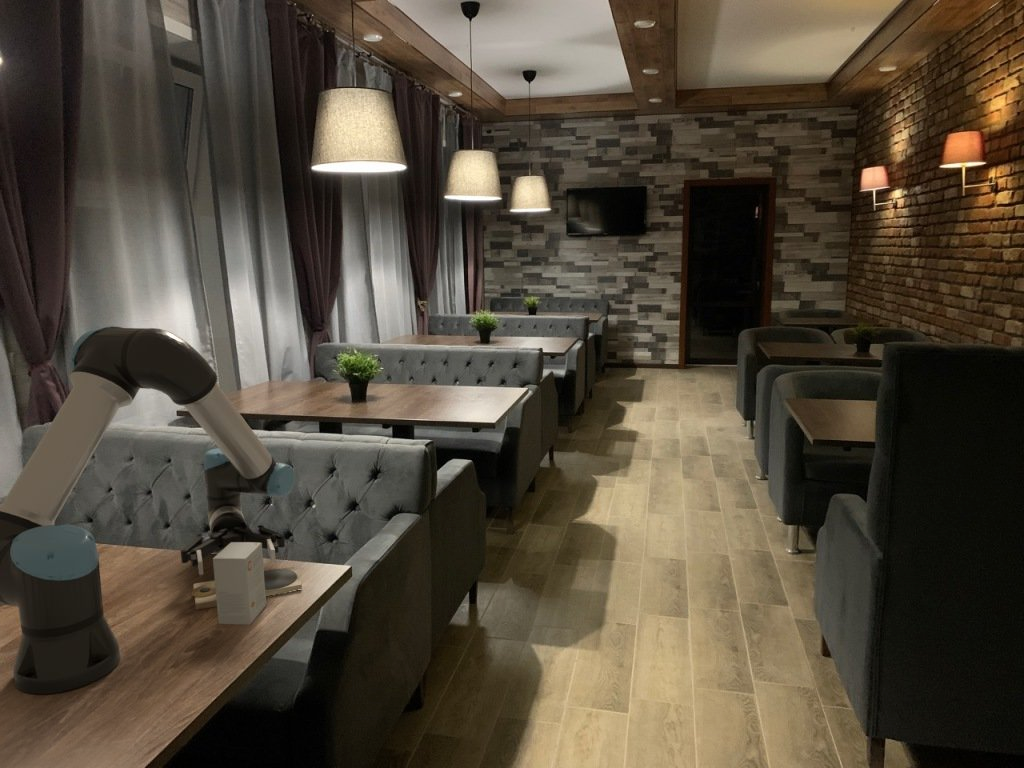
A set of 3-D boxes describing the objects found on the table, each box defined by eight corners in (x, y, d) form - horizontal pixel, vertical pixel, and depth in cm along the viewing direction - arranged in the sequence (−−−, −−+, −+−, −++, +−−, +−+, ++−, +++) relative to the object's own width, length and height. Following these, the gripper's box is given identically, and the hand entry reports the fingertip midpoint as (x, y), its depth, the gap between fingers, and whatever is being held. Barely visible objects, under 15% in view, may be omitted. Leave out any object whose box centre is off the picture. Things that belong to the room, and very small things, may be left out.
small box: (235, 604, 149) (230, 541, 146) (267, 605, 148) (262, 541, 146) (217, 624, 141) (211, 558, 138) (250, 625, 140) (245, 558, 138)
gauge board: (302, 590, 155) (301, 582, 154) (193, 610, 146) (192, 602, 146) (294, 571, 164) (293, 564, 163) (191, 589, 155) (190, 582, 155)
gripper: (287, 534, 175) (303, 568, 156) (168, 553, 165) (170, 591, 146) (285, 503, 174) (301, 533, 155) (166, 520, 164) (167, 554, 145)
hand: (237, 562), depth 151 cm, fingers open, 13 cm apart
